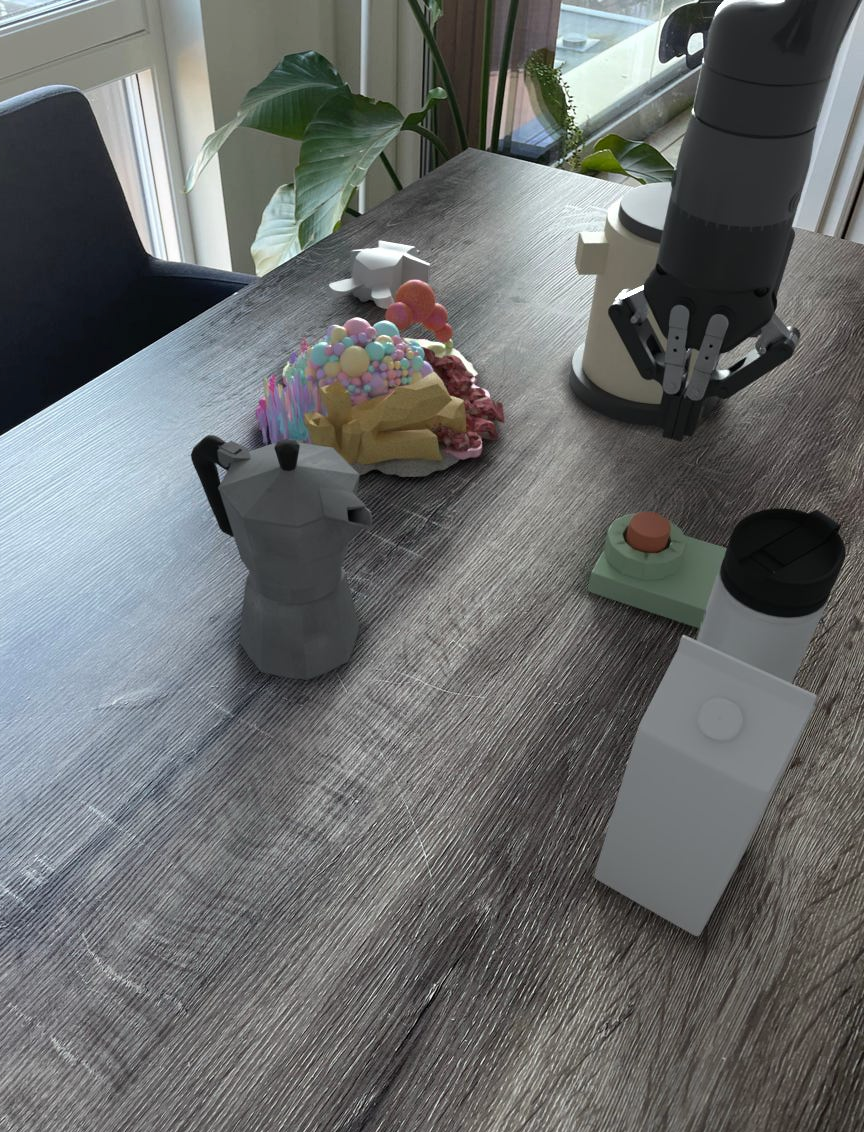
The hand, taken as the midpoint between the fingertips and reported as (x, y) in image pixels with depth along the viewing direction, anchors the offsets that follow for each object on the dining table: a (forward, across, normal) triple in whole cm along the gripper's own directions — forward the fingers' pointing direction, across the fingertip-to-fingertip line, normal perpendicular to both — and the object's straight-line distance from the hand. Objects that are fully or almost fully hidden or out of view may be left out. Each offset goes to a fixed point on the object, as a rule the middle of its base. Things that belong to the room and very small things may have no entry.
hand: (674, 433), depth 75 cm
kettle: (+14, +7, -29) cm, 33 cm away
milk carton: (+14, -10, +26) cm, 31 cm away
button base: (+14, -4, 0) cm, 14 cm away
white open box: (+14, +40, -32) cm, 53 cm away
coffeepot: (+14, +22, +19) cm, 32 cm away
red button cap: (+10, 0, 0) cm, 10 cm away
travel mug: (+14, -10, +16) cm, 23 cm away
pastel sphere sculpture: (+14, +30, -11) cm, 35 cm away
